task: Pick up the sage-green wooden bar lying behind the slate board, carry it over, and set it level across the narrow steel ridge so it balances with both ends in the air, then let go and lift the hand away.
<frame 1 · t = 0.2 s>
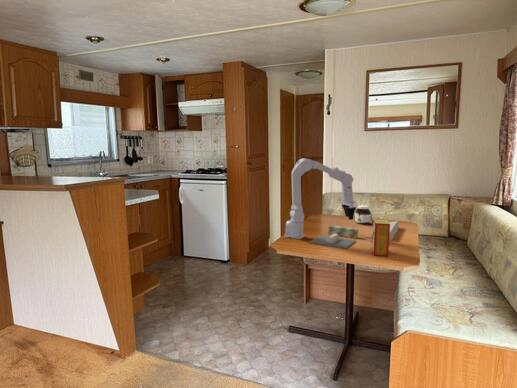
hand: (349, 217, 208), 10 cm above the table, tool pointing down, fingers open, 7 cm apart
white toy car: (365, 223, 241), on the table
decorative molding: (385, 234, 217), on the table
bar: (342, 236, 209), on the table
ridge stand: (332, 242, 196), on the table
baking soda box: (379, 253, 177), on the table
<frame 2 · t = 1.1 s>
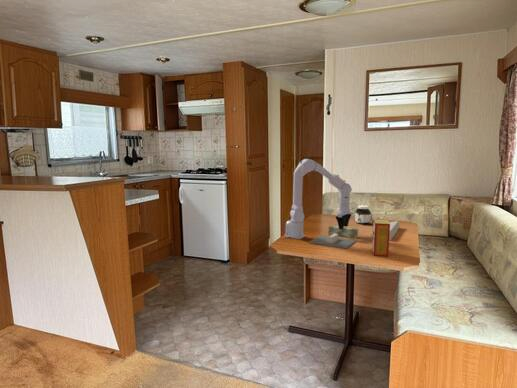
hand: (343, 227, 208), 5 cm above the table, tool pointing down, fingers open, 7 cm apart
nothing on the table moved.
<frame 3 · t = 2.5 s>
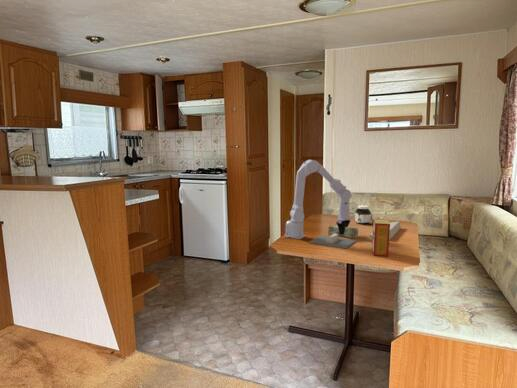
hand: (342, 233, 209), 1 cm above the table, tool pointing down, fingers closed on bar, 4 cm apart
bar: (342, 235, 209), on the table, touching gripper
everything else where it was.
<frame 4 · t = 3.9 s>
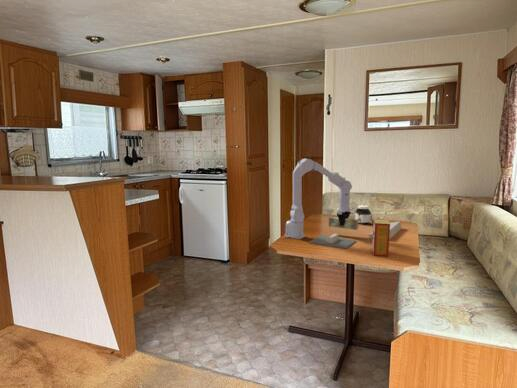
hand: (343, 224, 208), 6 cm above the table, tool pointing down, fingers closed on bar, 4 cm apart
bar: (343, 227, 208), point 5 cm above the table, touching gripper
everything else where it was.
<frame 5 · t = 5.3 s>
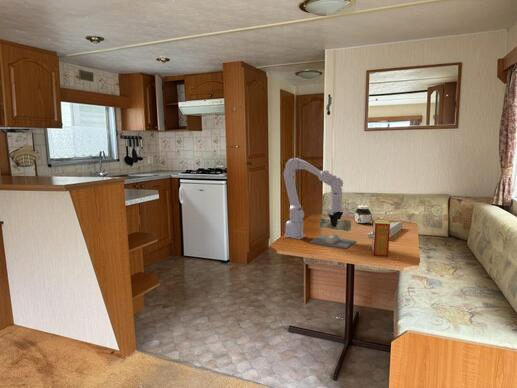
hand: (335, 225, 197), 8 cm above the table, tool pointing down, fingers closed on bar, 4 cm apart
bar: (335, 228, 197), point 7 cm above the table, touching gripper
when the fingers open (6 cm above the table, at t = 7.0 s): bar stays where it is, resting on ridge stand.
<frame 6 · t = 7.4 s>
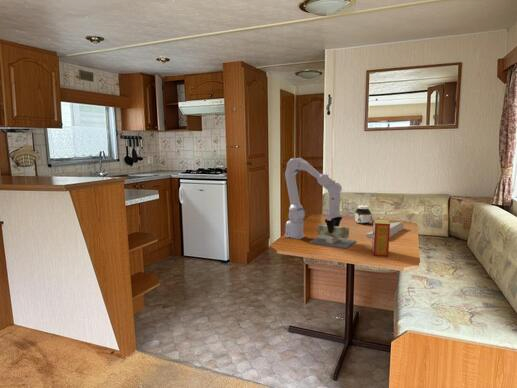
hand: (333, 231, 195), 6 cm above the table, tool pointing down, fingers open, 7 cm apart
bar: (332, 235, 195), point 3 cm above the table, touching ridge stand
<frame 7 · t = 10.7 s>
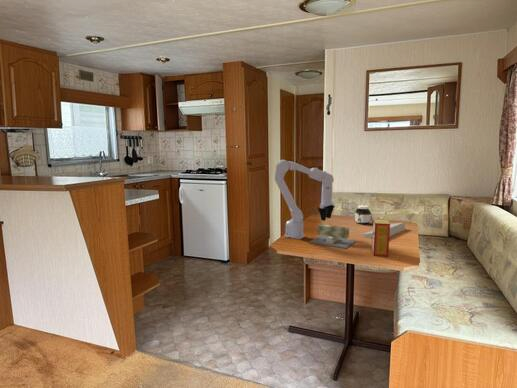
hand: (326, 219, 204), 10 cm above the table, tool pointing down, fingers open, 7 cm apart
at the end: bar 0.1 cm off-centre on the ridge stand, point 3.5 cm above the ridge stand's base; bar tilted 0°; the gripper is holding nothing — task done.
